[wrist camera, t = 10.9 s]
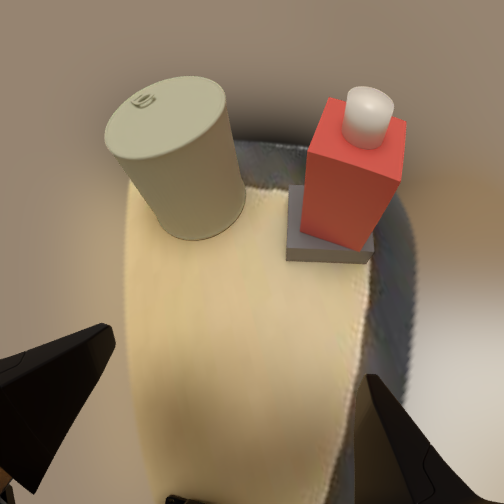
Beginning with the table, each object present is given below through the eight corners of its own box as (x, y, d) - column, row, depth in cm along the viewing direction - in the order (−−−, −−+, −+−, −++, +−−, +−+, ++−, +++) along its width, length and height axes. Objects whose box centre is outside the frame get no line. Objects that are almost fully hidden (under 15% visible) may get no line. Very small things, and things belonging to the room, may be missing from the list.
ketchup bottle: (359, 252, 22) (417, 150, 11) (299, 231, 23) (310, 115, 12) (371, 200, 23) (417, 91, 12) (317, 182, 24) (332, 65, 13)
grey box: (364, 265, 24) (374, 251, 22) (286, 262, 25) (286, 247, 22) (360, 207, 27) (367, 189, 24) (288, 203, 27) (288, 184, 25)
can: (201, 151, 31) (171, 62, 20) (265, 190, 28) (254, 88, 17) (140, 208, 29) (82, 128, 18) (199, 259, 26) (144, 176, 15)
